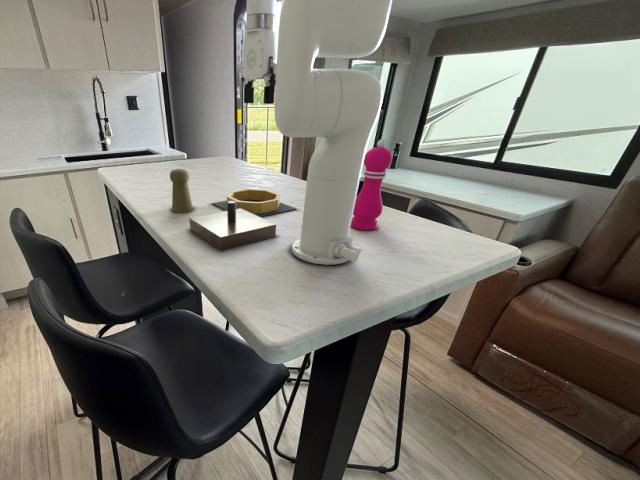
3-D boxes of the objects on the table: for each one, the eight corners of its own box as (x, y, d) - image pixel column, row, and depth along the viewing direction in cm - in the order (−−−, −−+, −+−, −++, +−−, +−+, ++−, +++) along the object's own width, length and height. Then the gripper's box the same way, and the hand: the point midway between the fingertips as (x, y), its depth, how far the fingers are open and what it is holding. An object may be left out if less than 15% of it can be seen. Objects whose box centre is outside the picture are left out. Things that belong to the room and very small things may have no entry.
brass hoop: (289, 208, 94) (289, 197, 92) (247, 216, 87) (247, 205, 85) (258, 196, 104) (259, 187, 103) (219, 203, 97) (219, 193, 96)
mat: (296, 209, 94) (296, 208, 93) (245, 220, 85) (245, 219, 85) (259, 196, 106) (259, 195, 106) (212, 204, 98) (212, 203, 98)
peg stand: (275, 236, 75) (277, 204, 71) (220, 250, 68) (219, 216, 64) (240, 219, 86) (240, 190, 82) (190, 229, 79) (187, 199, 75)
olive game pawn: (195, 206, 95) (192, 167, 90) (190, 212, 90) (187, 171, 84) (175, 206, 96) (171, 167, 90) (169, 212, 91) (164, 171, 85)
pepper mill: (382, 226, 82) (404, 139, 71) (370, 233, 77) (392, 142, 67) (356, 219, 86) (373, 137, 75) (343, 226, 82) (359, 139, 71)
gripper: (231, 29, 87) (231, 103, 97) (269, 19, 75) (266, 104, 84) (253, 32, 91) (251, 102, 100) (293, 22, 79) (287, 103, 88)
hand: (258, 103), depth 92 cm, fingers open, 9 cm apart
